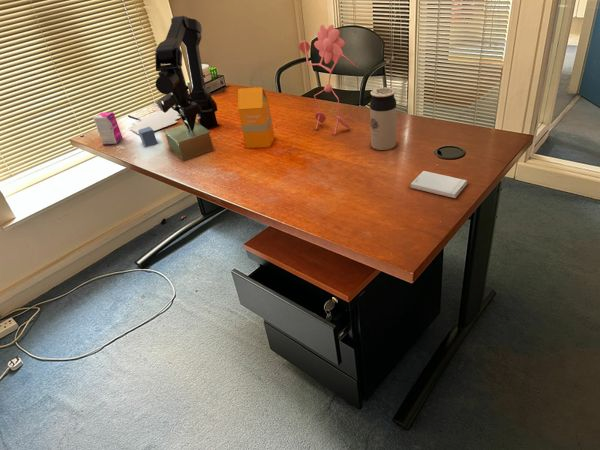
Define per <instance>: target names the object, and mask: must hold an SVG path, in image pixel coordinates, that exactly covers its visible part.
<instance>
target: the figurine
mask: <svg viewBox="0 0 600 450" xmlns="http://www.w3.org/2000/svg"><path fill="white" fill-rule="evenodd" d="M340 35H341V32H340V30H339V29H337V28H335V26H334V25H333V24H330V25H329V26H327V28H326V26H325V25H324V24H321V25H320V26H319V31H317V32H316V38H317V40H315V41H314V43H313V45H314V48H316V49H317V50H318V51H319V52H318V55H319V57H321V58H320V61H319V63H309V58H308V52H309V51H310V49H311V45H310V43H309V42H308V41H307V40H305V39H304V40H302V41H300V43H299V45H298V48H299V50H300V51H301V52H302V53H303V54H305V59H306V60H305V61H306V64H307V66H318V67H321V68H323V69H324V70H325V71H327V72H329V74H328V75H329V76H328V81H327V84H326V85H324V88H323V90H321V91H319V92H317V93H315V94H314V95H313V98H314V101H315V104H316V107H317V110H318V112H316V113H315V119H316V121H317V122H316V125H315V130H318V128H319V123H321V124H323V123H324V122H325V121H326V119H327V116H326V114H325V113H324V112H322V111H321V110H320V108H319V104H318V101H317V98H316V96H318V95H320V94H321V93H323V92H326V93H331V92H332V93H333V95H334V96H335V97H336V100H337V111H338V112H337V113H338V115H331V116H328V118H331V117H332V118H333V117H335V119H336V125H335V128H334V133H333V135H336V134H337V131H338V126H339V123H340V124H341V125H342V126H344V127H345V128H347V129H348V130H350V128H351V127H350V126H349V124H348V123H347V122H346V121H345V120H344V119H343V118H345V116H344V115H340V99H339V97H338V96H337V94H336V93H335V91H334V90H333V85H331V84H330V82H331V76H332V73H333V71H334V68H335V67H336V65H337V64H338V63H339V60H340V58H342V57H344V58H345V59H346V60H347V61H348V62H350V63H351V64H352V65H353V66H354V67H356V68H359V66H358V65H357V64H355V63H354V62H353V61H352V60H351V59H350V58H348V57H347V56H346V55H344V52H343V49H342V48H343V47H344V46H345V45H346V42H345V41H344V39H343V38H341V37H340ZM323 61H324V63H325V64H326V65H327V64H329V63H331V61H332V62H333V63H334V64H333V65H332V66H331V68H330V67H327V66H326V65H323V64H322V63H323ZM346 118H347V119H352V120H354V121H356V122H358V120H357V119H355V118H353V117H350V116H346ZM348 138H350V136H347V137H346V139H348Z"/></svg>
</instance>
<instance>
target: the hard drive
mask: <svg viewBox="0 0 600 450" xmlns="http://www.w3.org/2000/svg"><path fill="white" fill-rule="evenodd" d="M467 185H468V180H467V179H463V178H456V177H453V176H449V175H445V174H440V173H435V172H430V171H426V170H423V171H422V172H420V173H419V174H418V175H417V176H416V177H415V179H414V180H412V182H411V183H410V188H411V189H415V190H418V191H423V192H427V193H431V194H435V195H440V196H443V197H448V198H452V199H456V198H457V197H458V196H459V195H460V194H461V192H462V191H463V190H464V189H465V187H467Z"/></svg>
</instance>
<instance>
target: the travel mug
mask: <svg viewBox="0 0 600 450" xmlns="http://www.w3.org/2000/svg"><path fill="white" fill-rule="evenodd" d="M395 94H396V89H394V88H392V87H385V86H384V87H377V88H374V89H372V90H371V91H370V95H371V99H370V102H369V113H370V114H369V115H370V116H369V117H370V118H369V119H370V144H371V147H372V148H373V149H375V150H377V151H387V150H388V151H389V150H392V149H393V148H395V147H396V146H397V99H396V97H395Z"/></svg>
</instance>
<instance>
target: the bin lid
mask: <svg viewBox="0 0 600 450" xmlns="http://www.w3.org/2000/svg"><path fill="white" fill-rule="evenodd" d="M184 122H185V123H186V126H185V124H184ZM184 122H183V124H181V125H178V126H175V127H172V128H169V129H166V130H164V134H165V133H166V134H167V135H168V136H169V137H170V138H172V139H173V140H174V141H175V142H176V143H177V144H178V145H179V144H181V143H184V142H187V141H190V140H193V139H196V138H199V137H201V136H204V135H207V134H210V135H211V131H210V129H208V130H207V129H206V128H204V127H203V126H202V125H200V124H199V123H198V121H195V126H194V129H193V130H191V129H190V127H189V125H188V123H187V121H186V119H184ZM166 134H165V135H166Z"/></svg>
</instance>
